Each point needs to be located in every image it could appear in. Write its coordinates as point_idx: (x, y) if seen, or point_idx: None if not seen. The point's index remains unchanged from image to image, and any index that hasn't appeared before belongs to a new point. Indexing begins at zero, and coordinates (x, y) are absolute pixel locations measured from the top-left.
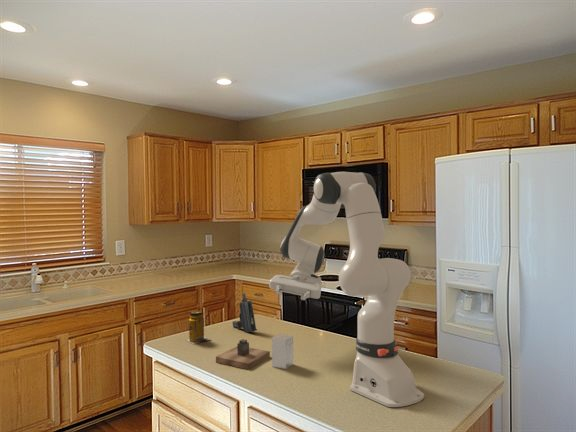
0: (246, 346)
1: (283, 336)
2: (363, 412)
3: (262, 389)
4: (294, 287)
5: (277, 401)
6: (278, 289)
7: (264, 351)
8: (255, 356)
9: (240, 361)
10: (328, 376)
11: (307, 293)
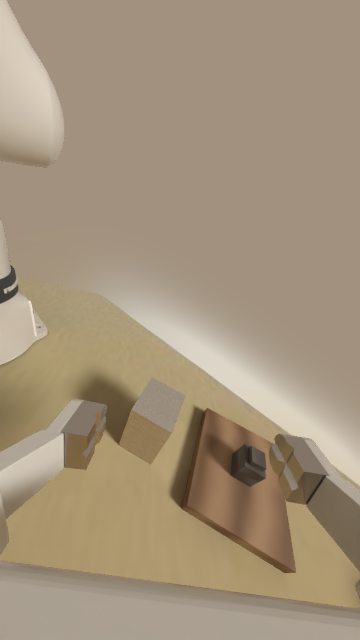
0: (241, 456)
1: (158, 406)
2: (63, 300)
3: (166, 351)
4: (202, 594)
5: (147, 329)
6: (316, 455)
7: (200, 500)
8: (208, 451)
9: (223, 418)
10: (58, 377)
11: (14, 446)
